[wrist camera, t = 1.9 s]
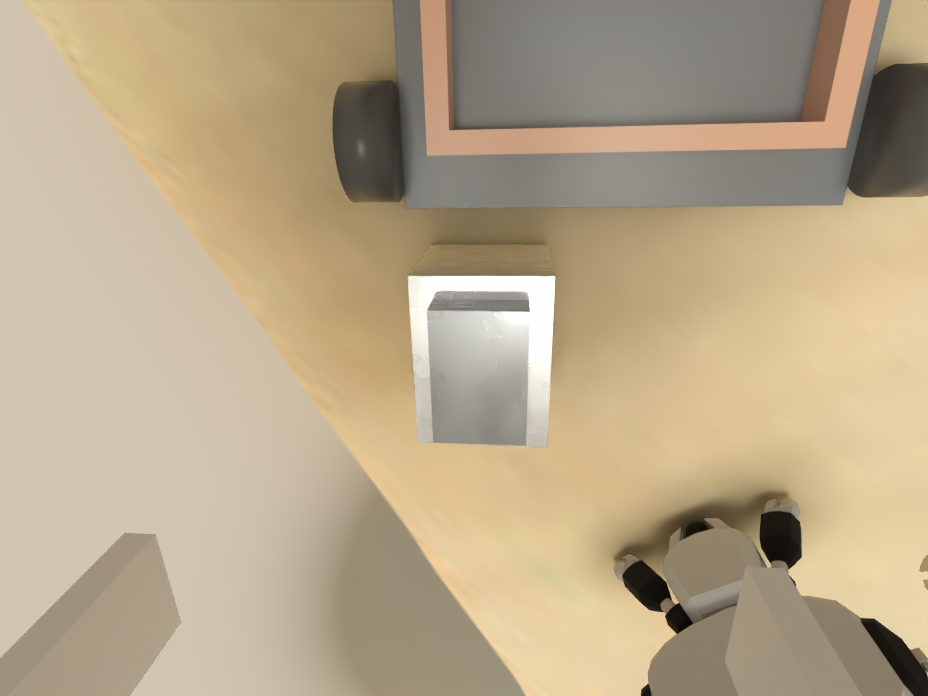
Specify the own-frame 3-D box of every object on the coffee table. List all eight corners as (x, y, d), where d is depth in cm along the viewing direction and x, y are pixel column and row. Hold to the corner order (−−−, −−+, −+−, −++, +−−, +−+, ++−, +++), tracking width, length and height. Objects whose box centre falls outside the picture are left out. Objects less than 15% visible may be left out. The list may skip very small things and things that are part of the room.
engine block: (431, 244, 28) (399, 285, 21) (547, 244, 27) (557, 286, 20) (438, 381, 31) (411, 460, 24) (542, 384, 30) (548, 466, 23)
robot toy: (625, 592, 35) (690, 889, 22) (593, 544, 34) (640, 827, 20) (814, 523, 32) (1038, 825, 18) (786, 467, 31) (1002, 745, 17)
